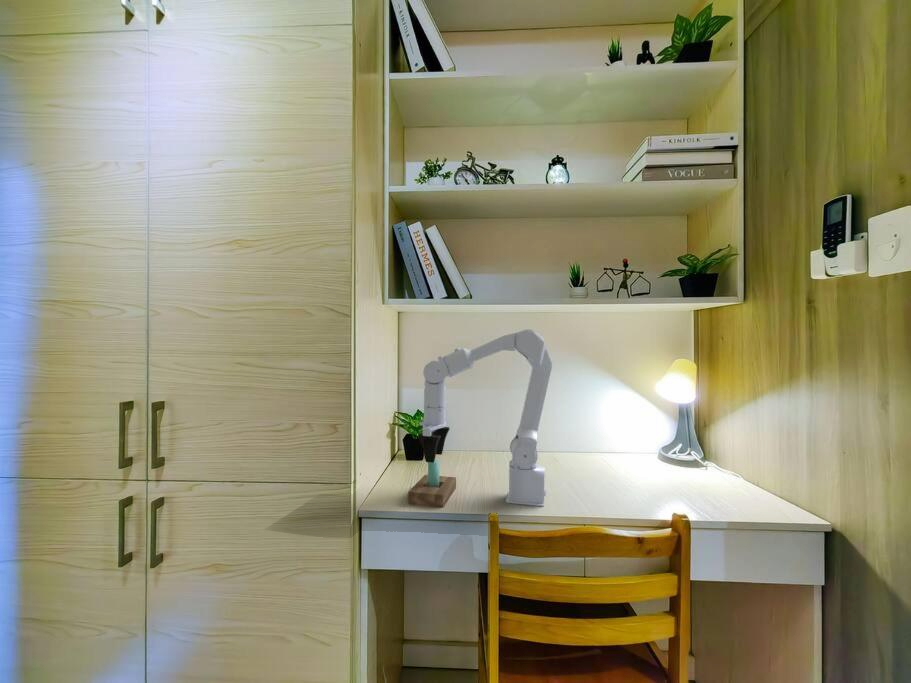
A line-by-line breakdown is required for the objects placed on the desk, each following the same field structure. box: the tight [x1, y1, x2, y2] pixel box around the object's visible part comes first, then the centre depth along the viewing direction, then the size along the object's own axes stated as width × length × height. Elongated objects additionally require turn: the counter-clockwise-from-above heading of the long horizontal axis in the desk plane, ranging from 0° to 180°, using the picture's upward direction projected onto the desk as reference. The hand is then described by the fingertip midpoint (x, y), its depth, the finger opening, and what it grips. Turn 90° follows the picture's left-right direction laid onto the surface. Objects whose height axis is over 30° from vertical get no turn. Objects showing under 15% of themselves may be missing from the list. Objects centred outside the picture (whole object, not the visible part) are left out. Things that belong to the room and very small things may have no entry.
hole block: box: [407, 474, 457, 508], centre depth 111 cm, size 9×14×3 cm, turn 167°
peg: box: [427, 459, 441, 488], centre depth 111 cm, size 3×3×9 cm
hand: (434, 457), depth 111 cm, fingers open, 7 cm apart
